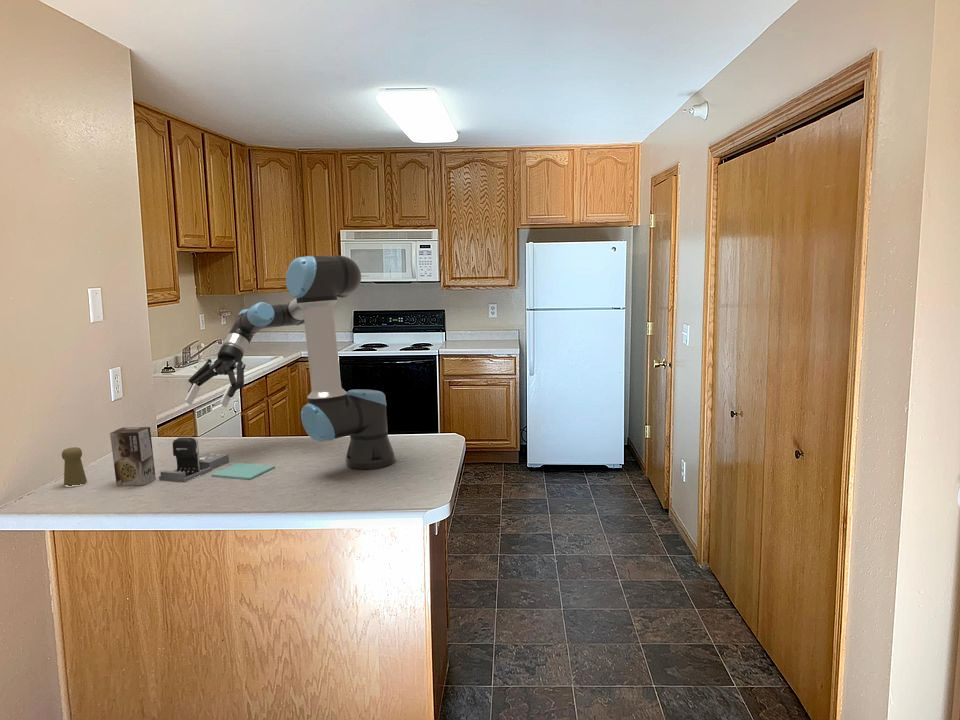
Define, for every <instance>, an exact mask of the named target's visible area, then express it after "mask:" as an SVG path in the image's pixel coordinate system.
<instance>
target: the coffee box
mask: <svg viewBox="0 0 960 720" xmlns="http://www.w3.org/2000/svg"><path fill="white" fill-rule="evenodd" d="M109 437H110V438H109V439H110V444H111V453H112V461H113V467H114V474H115V475H114V476H115V483H116V484H115V485H116V486H145V485H147V484H149V483H151V482H153V481H154V480H156V479H157V478H156V470H155V460H154V451H153V443H152V433H151V426H140V427H137V426H136V427H134V426H131V427H128V426H127V427H119V428H118V429H116V430H114V431H111V432H110V433H109Z"/></svg>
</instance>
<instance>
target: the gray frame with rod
mask: <svg viewBox="0 0 960 720" xmlns="http://www.w3.org/2000/svg"><path fill="white" fill-rule="evenodd" d="M229 462H230V458H229V454H225V453H216V452H215V453H214V452H208V453H204V454H202V455H199V464H200V469H204V470H200V471H199V472H197V473H195V474H192V475H186V472H177V468H176V469H174V470H165V469H164V470H162V471H160V473H159V474H160V475H159V476H158V480H159V481H167V480H170V481H171V482H178V481H182V482H183V483H186V482H188V480H189V481H191V480H193V479H195V478H194V477H196V478H197V476H198V477H200V476H203V475H205V474H206V473H209V472H212V470H214V469H217V468H218V467H221V466H223V465H225V464H228V463H229ZM202 474H203V475H202ZM199 475H200V476H199ZM192 478H193V479H192ZM190 479H191V480H190ZM185 481H186V482H185ZM182 482H181V483H182Z"/></svg>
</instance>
